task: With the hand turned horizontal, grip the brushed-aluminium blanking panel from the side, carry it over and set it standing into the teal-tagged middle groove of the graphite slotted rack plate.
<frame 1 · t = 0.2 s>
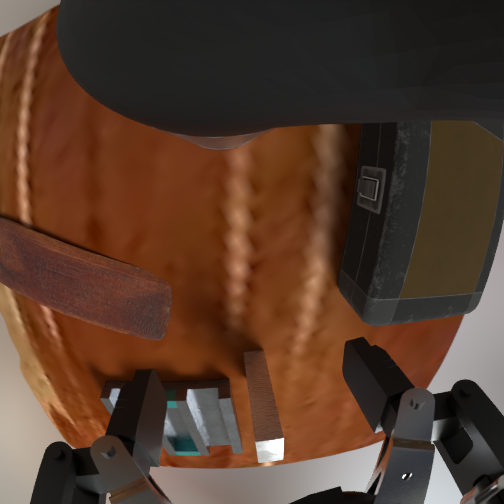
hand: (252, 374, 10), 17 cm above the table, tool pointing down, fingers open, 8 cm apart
blanking panel: (254, 365, 33), on the table
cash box: (418, 195, 28), on the table
wooden tablet: (69, 278, 27), on the table
rack: (177, 415, 35), on the table
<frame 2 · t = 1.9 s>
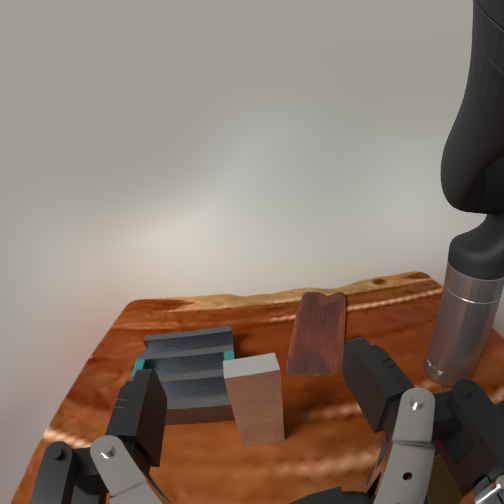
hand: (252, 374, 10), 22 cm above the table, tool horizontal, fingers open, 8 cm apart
blanking panel: (262, 436, 28), on the table
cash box: (474, 503, 10), on the table
wooden tablet: (318, 330, 49), on the table
rack: (187, 380, 39), on the table
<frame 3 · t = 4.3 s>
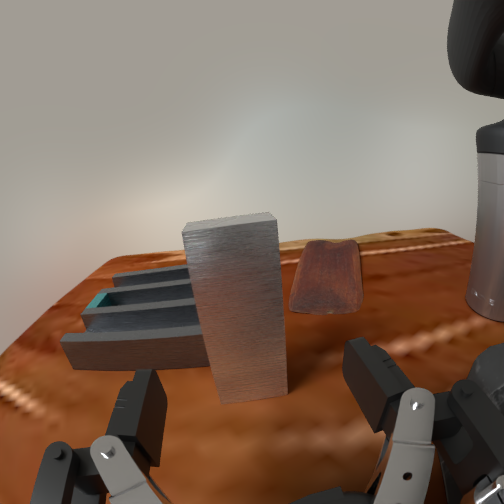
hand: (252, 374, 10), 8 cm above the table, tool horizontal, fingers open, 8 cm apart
blanking panel: (252, 388, 19), on the table
wooden tablet: (328, 273, 41), on the table
rack: (157, 321, 30), on the table
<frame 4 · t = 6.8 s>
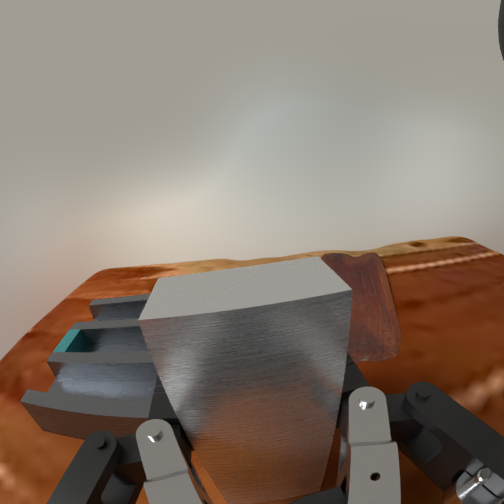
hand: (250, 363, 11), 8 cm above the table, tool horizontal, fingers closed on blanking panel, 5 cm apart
blanking panel: (271, 484, 11), on the table, touching gripper
wooden tablet: (351, 297, 33), on the table
rack: (142, 368, 22), on the table
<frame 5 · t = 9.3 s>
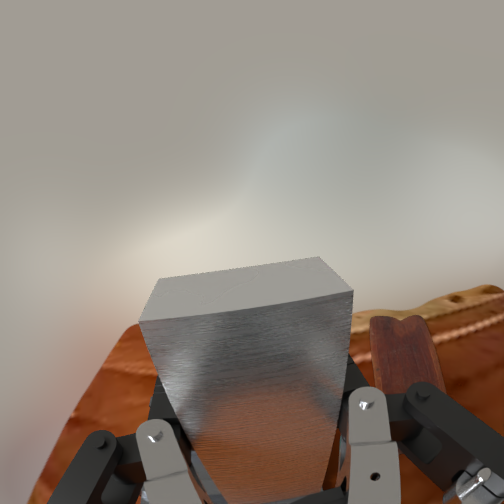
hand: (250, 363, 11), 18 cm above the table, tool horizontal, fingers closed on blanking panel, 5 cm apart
blanking panel: (272, 484, 11), point 10 cm above the table, touching gripper
wooden tablet: (405, 374, 29), on the table
rack: (229, 475, 19), on the table
when the fingers open (10 cm above the table, at t = 12.1 s): blanking panel stays where it is, resting on rack.
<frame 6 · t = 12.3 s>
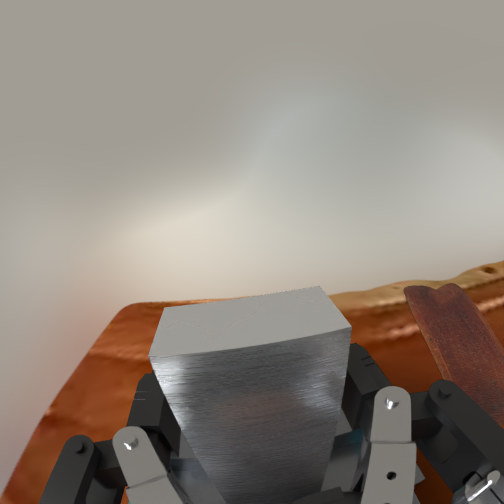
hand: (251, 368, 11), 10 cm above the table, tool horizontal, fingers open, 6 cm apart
blanking panel: (272, 490, 11), point 1 cm above the table, touching rack
wooden tablet: (459, 344, 23), on the table
rack: (273, 496, 12), on the table
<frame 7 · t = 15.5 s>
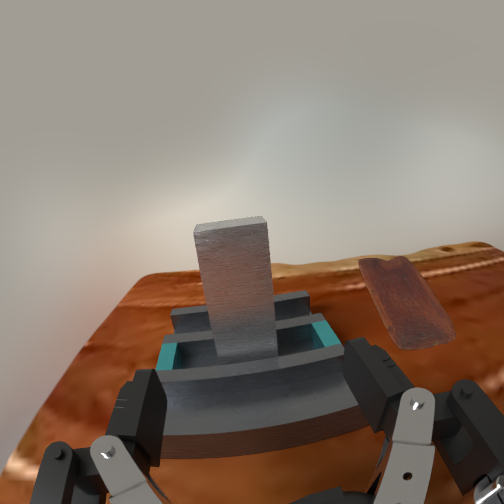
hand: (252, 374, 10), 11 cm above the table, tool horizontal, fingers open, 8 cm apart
blanking panel: (249, 364, 24), point 1 cm above the table, touching rack
wooden tablet: (399, 296, 35), on the table
rack: (250, 375, 24), on the table
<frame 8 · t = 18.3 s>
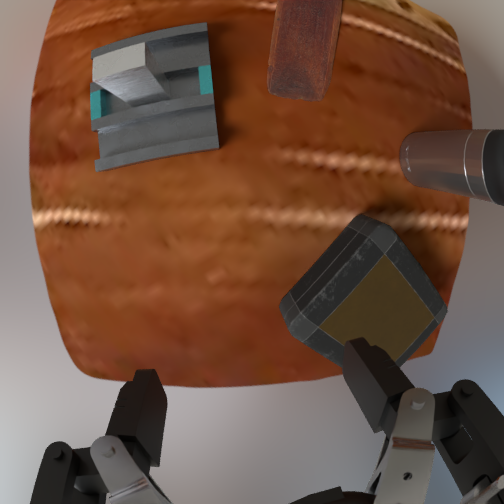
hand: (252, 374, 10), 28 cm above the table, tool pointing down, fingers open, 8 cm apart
blanking panel: (151, 94, 29), point 1 cm above the table, touching rack
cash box: (364, 298, 44), on the table
wooden tablet: (304, 29, 30), on the table
rack: (153, 96, 30), on the table
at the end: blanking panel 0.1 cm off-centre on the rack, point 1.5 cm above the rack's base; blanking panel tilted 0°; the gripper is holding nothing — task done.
